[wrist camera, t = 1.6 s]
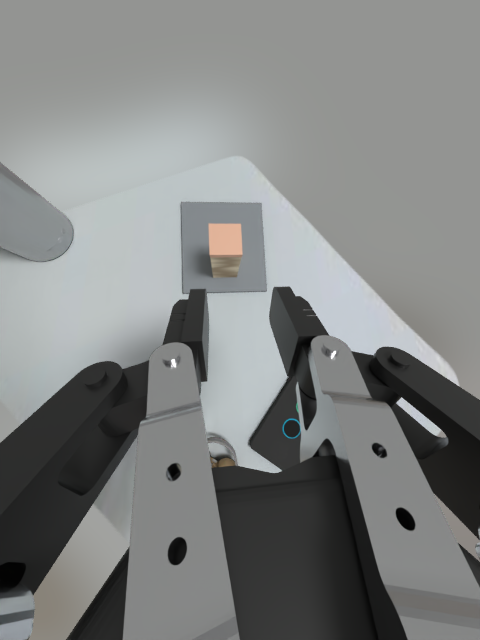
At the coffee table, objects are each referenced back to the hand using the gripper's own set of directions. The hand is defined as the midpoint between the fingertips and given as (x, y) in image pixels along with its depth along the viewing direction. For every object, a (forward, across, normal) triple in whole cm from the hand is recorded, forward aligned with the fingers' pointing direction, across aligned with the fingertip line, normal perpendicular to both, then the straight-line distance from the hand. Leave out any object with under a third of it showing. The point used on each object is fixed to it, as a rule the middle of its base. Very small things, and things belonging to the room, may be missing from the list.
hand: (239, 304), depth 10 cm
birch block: (+24, 0, +9) cm, 26 cm away
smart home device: (+9, -12, +26) cm, 30 cm away
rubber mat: (+27, 0, +7) cm, 28 cm away
